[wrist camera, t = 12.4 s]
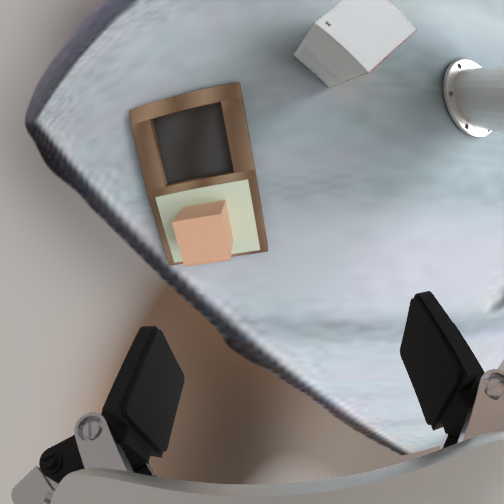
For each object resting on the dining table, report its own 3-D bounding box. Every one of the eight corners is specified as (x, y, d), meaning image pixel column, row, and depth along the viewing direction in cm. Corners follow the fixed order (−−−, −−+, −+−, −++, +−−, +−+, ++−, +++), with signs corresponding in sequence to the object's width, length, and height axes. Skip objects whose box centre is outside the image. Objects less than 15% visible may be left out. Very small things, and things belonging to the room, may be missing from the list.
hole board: (239, 83, 30) (239, 81, 28) (267, 246, 39) (268, 252, 38) (133, 110, 31) (127, 110, 29) (172, 260, 40) (168, 266, 39)
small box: (329, 89, 30) (368, 74, 18) (291, 55, 28) (311, 21, 16) (368, 53, 27) (418, 29, 15) (332, 19, 25) (368, -20, 14)
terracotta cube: (225, 199, 35) (220, 214, 30) (233, 240, 37) (230, 260, 32) (183, 207, 35) (171, 222, 30) (193, 246, 37) (184, 266, 32)
